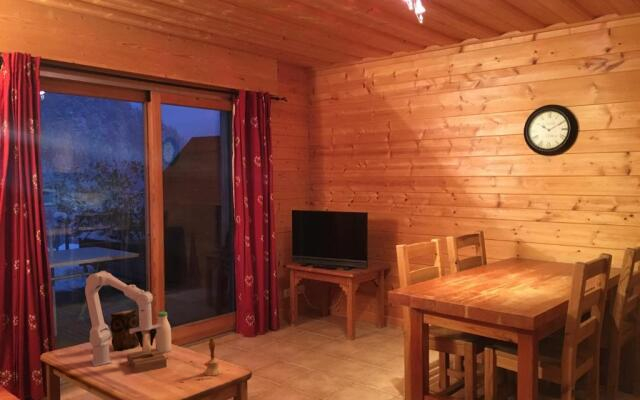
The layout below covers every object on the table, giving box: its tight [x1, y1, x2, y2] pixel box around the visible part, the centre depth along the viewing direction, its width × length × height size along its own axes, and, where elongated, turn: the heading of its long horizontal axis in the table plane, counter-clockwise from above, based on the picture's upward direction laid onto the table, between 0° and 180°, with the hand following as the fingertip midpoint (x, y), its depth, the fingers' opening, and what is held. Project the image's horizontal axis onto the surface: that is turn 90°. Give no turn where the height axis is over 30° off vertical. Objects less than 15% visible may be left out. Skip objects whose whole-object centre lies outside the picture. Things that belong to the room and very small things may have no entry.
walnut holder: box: [127, 347, 168, 374], centre depth 250 cm, size 18×14×4 cm
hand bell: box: [203, 337, 223, 377], centre depth 238 cm, size 8×8×16 cm
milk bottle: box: [154, 311, 172, 354], centre depth 269 cm, size 8×8×20 cm
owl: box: [110, 308, 140, 352], centre depth 275 cm, size 13×13×20 cm
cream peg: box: [141, 331, 152, 353], centre depth 250 cm, size 4×4×9 cm
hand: (146, 345), depth 250 cm, fingers closed on cream peg, 4 cm apart
